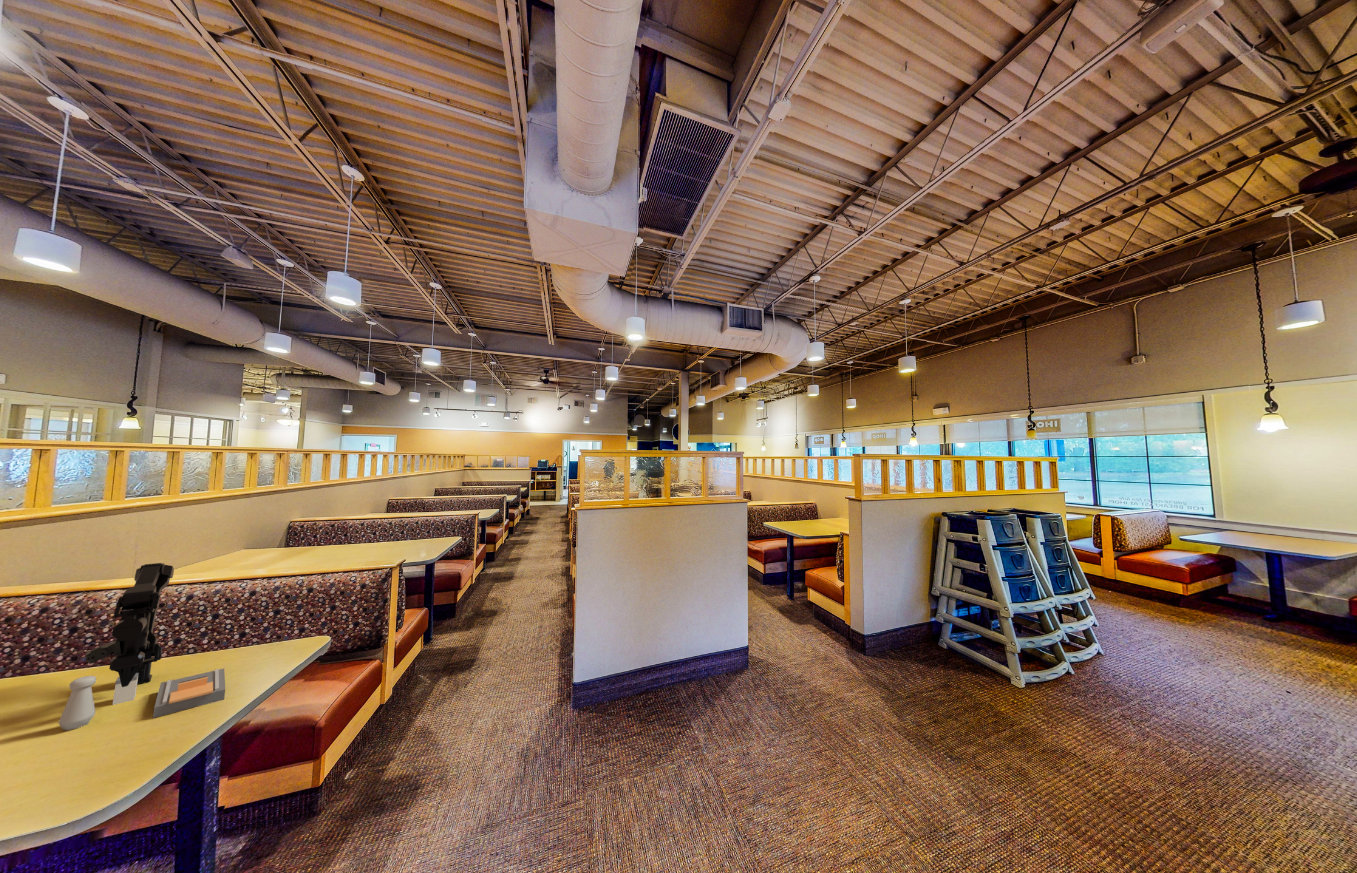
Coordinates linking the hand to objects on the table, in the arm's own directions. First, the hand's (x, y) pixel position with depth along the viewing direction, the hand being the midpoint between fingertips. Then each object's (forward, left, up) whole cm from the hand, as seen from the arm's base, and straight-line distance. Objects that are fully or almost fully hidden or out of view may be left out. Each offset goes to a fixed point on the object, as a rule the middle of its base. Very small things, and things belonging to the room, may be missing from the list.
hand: (126, 681), depth 130 cm
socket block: (+12, +14, -5) cm, 19 cm away
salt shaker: (+13, -7, -6) cm, 16 cm away
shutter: (+20, +14, -2) cm, 24 cm away
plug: (0, 0, -6) cm, 6 cm away
